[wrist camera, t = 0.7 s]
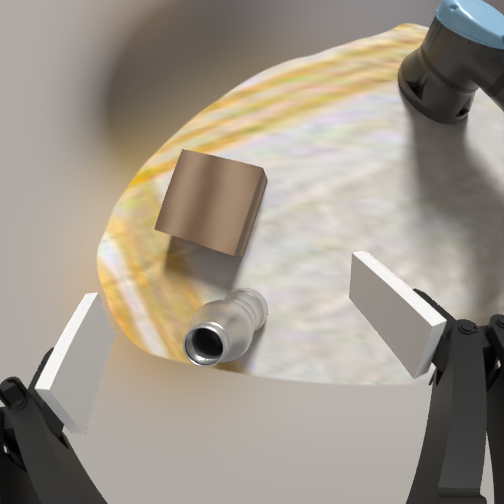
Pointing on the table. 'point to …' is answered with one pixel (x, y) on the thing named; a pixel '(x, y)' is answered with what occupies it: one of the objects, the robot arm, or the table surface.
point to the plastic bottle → (225, 327)
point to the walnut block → (212, 202)
